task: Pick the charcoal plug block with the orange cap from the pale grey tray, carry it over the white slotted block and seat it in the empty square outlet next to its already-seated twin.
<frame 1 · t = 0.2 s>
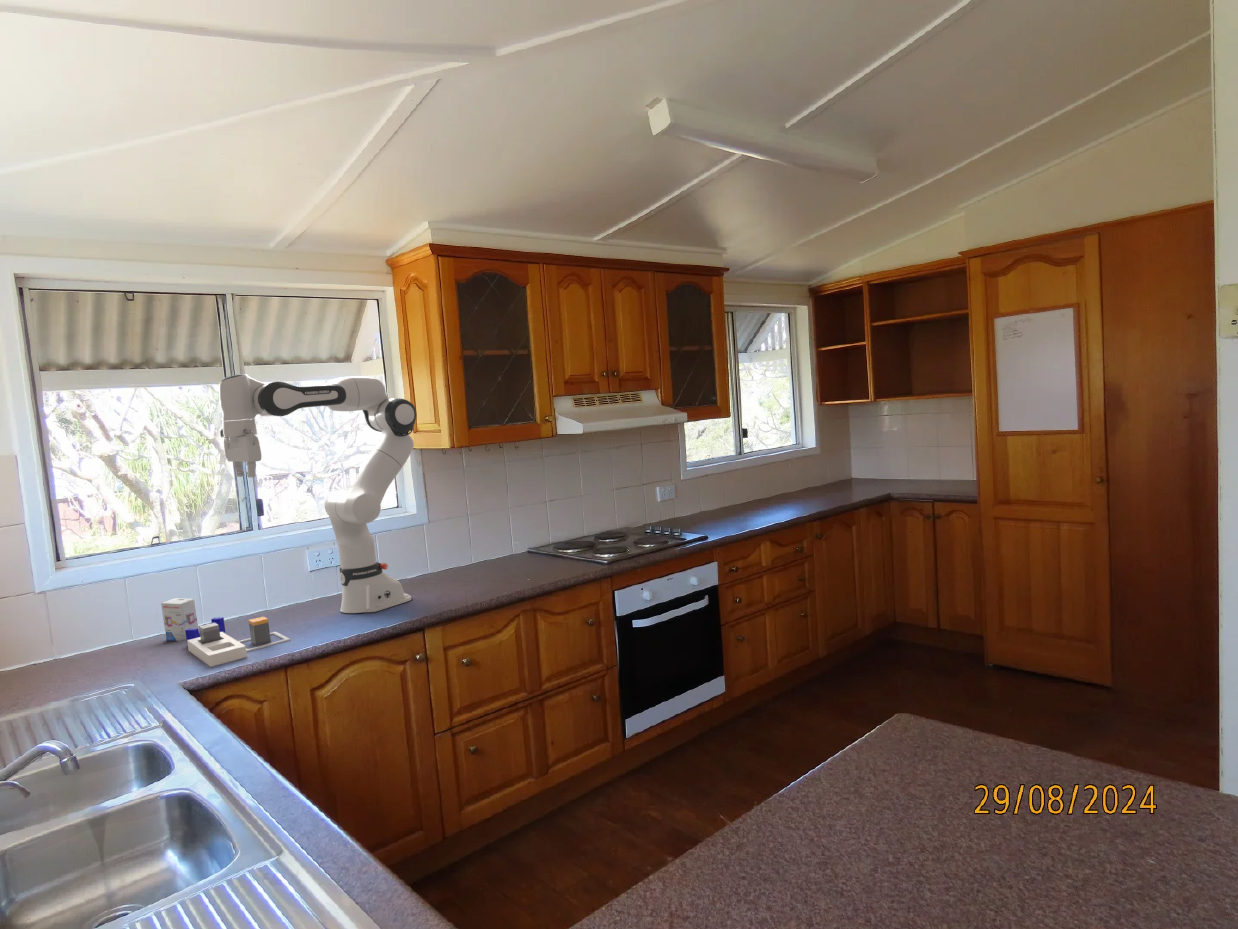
hand: (246, 476, 227), 47 cm above the worktop, fingers open, 8 cm apart
ink box: (182, 639, 232), on the worktop
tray: (261, 645, 218), on the worktop
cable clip: (205, 644, 225), on the worktop
twin plug: (212, 650, 214), point 1 cm above the worktop, touching white slotted block
white slotted block: (217, 657, 210), on the worktop
plug: (261, 643, 218), point 1 cm above the worktop, touching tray
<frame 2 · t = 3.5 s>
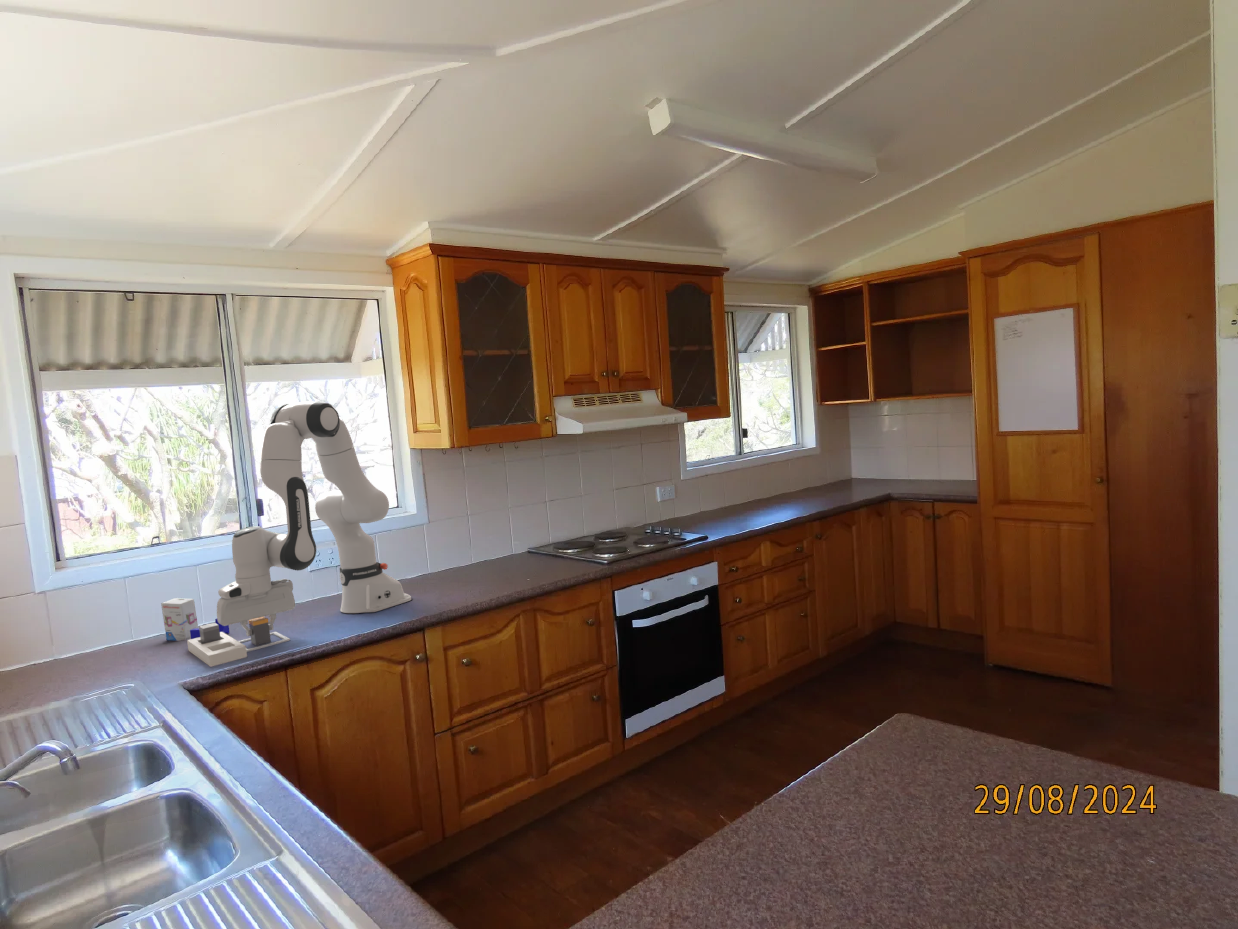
hand: (260, 632, 218), 4 cm above the worktop, fingers closed on plug, 4 cm apart
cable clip: (209, 644, 225), on the worktop
plug: (261, 643, 218), point 1 cm above the worktop, touching gripper, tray
everything else where it was.
when the fingers open (5 cm above the worktop, at t = 8.1 s): plug stays where it is, resting on white slotted block.
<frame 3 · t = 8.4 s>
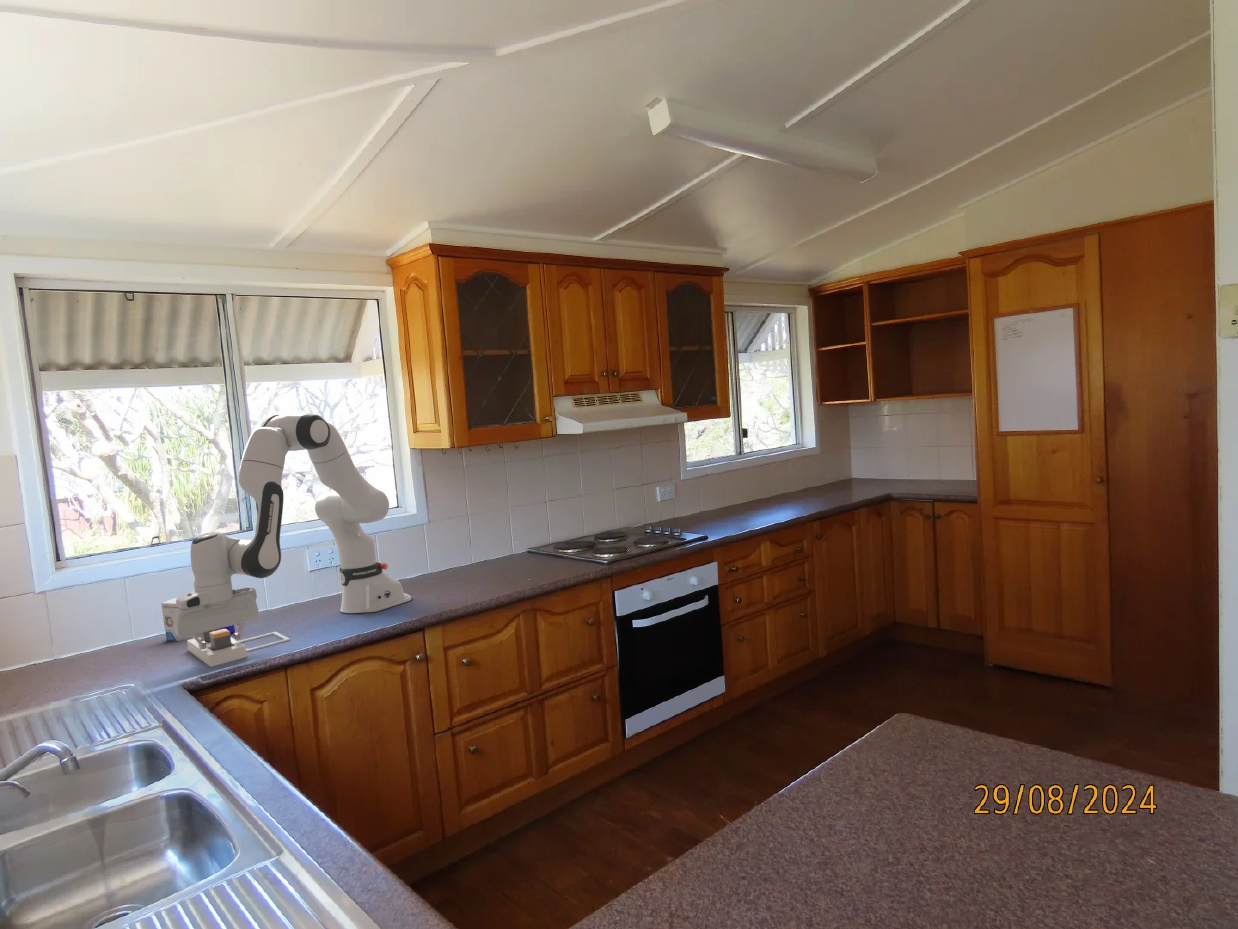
hand: (220, 644, 206), 5 cm above the worktop, fingers open, 7 cm apart
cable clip: (215, 643, 225), on the worktop
plug: (222, 657, 206), point 1 cm above the worktop, touching white slotted block
everything else where it was.
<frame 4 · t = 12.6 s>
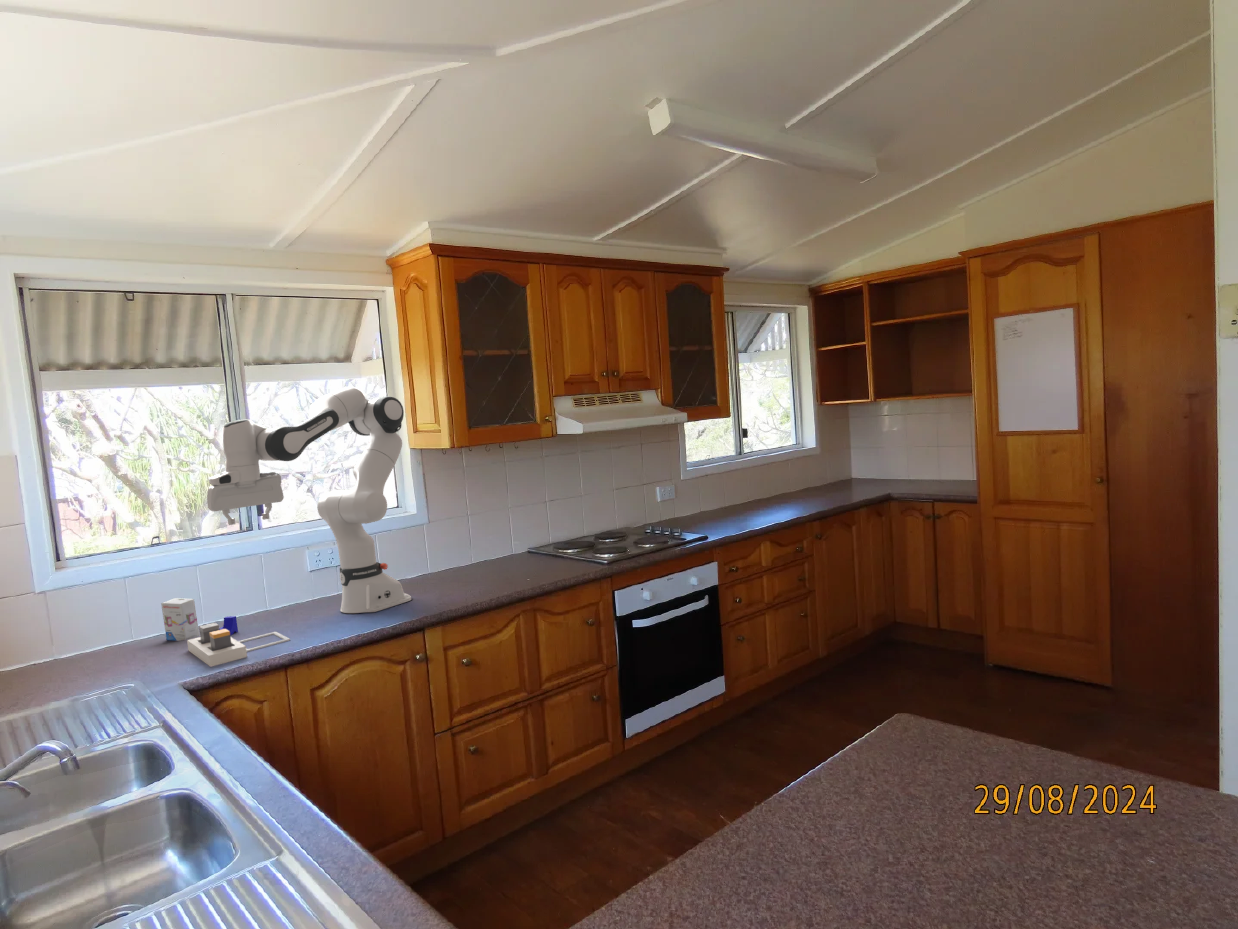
hand: (249, 521, 226), 34 cm above the worktop, fingers open, 8 cm apart
at the end: plug 0.1 cm from the target spot on the white slotted block, point 1.0 cm above the white slotted block's base; plug tilted 0°; the gripper is holding nothing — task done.
